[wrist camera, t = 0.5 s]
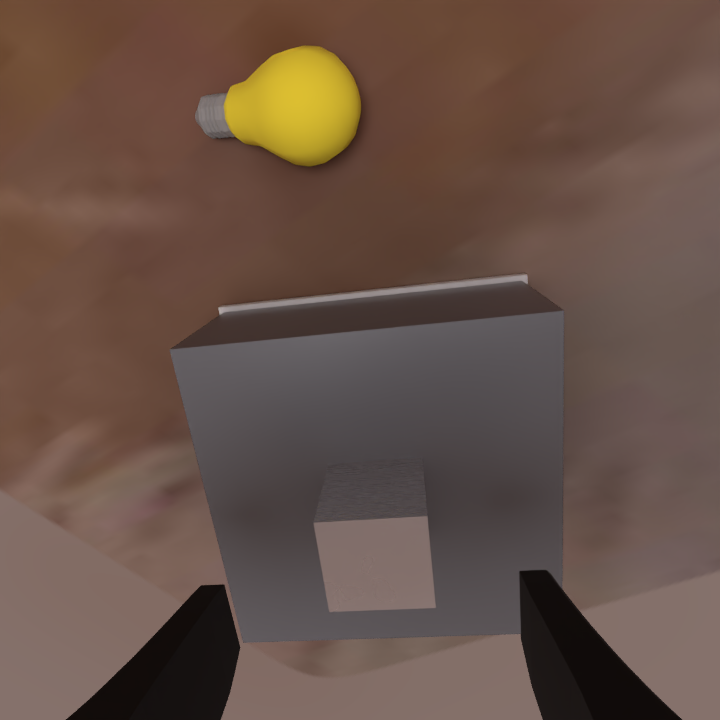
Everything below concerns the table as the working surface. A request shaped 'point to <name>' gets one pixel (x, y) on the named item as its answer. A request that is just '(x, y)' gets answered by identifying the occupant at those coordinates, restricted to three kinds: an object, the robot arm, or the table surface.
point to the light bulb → (289, 107)
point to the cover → (381, 459)
